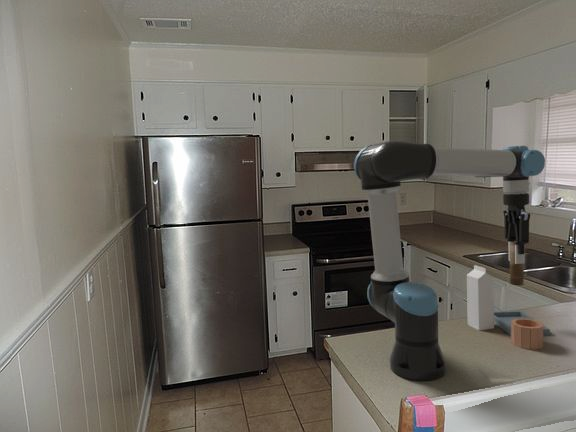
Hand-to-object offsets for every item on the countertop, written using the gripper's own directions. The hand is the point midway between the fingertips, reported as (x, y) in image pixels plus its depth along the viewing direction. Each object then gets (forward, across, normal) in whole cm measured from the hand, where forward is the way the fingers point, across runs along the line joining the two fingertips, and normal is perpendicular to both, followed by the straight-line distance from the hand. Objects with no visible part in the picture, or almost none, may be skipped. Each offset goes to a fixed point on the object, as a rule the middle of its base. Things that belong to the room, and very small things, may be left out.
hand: (516, 261), depth 137 cm
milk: (+23, 0, +12) cm, 26 cm away
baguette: (+8, 0, 0) cm, 8 cm away
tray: (+23, 0, 0) cm, 23 cm away
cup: (+23, -15, +4) cm, 28 cm away
